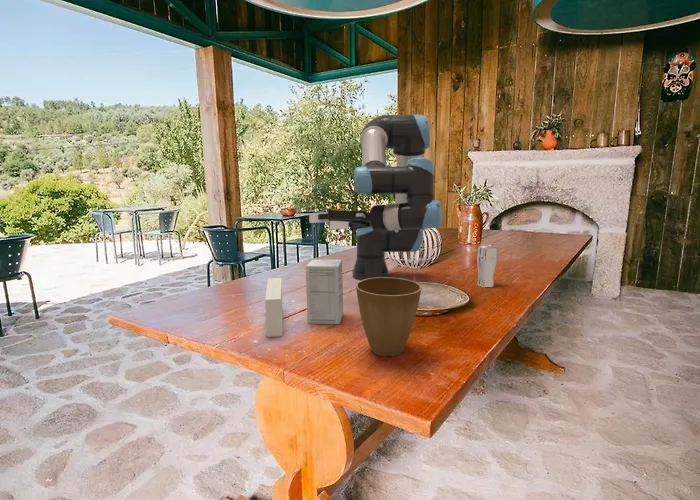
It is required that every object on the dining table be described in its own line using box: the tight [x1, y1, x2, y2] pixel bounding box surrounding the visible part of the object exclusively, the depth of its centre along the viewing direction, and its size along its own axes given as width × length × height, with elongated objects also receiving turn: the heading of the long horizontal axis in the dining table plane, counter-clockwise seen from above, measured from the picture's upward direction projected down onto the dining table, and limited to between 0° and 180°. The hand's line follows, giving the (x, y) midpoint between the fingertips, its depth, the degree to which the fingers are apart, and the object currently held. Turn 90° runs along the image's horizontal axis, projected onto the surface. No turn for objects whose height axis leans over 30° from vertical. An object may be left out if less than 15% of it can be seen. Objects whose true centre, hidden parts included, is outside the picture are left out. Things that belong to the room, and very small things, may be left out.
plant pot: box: [355, 276, 422, 357], centre depth 89 cm, size 15×15×16 cm
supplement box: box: [305, 259, 344, 325], centre depth 111 cm, size 10×9×17 cm
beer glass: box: [476, 245, 498, 288], centre depth 146 cm, size 7×7×15 cm
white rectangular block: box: [264, 277, 284, 338], centre depth 109 cm, size 4×22×10 cm, turn 10°
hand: (320, 222), depth 118 cm, fingers open, 13 cm apart
